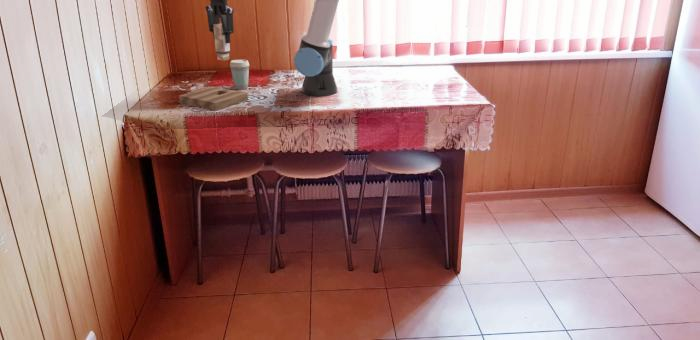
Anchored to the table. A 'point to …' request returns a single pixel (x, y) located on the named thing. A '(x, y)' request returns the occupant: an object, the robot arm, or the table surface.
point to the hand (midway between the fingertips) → (222, 50)
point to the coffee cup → (240, 73)
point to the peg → (220, 43)
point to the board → (213, 98)
